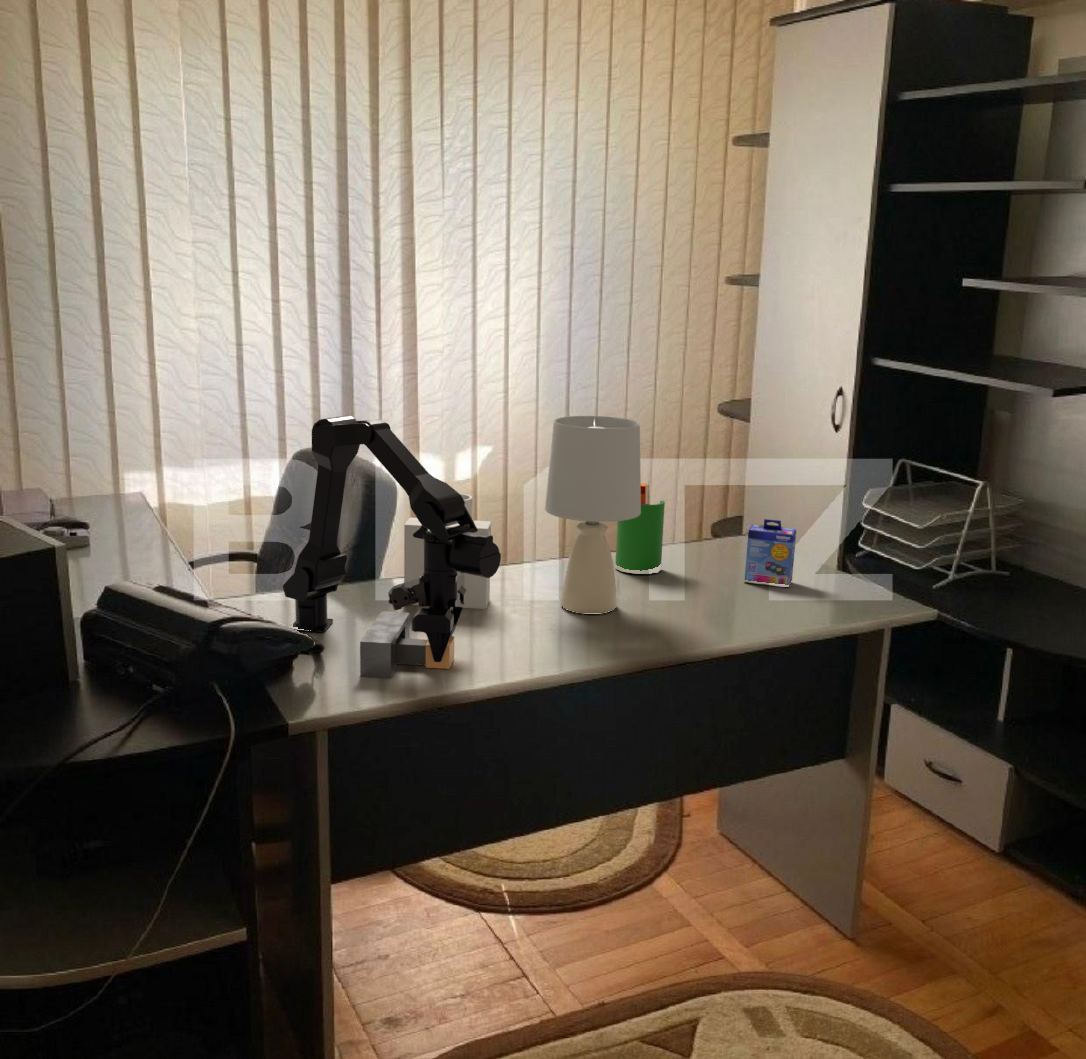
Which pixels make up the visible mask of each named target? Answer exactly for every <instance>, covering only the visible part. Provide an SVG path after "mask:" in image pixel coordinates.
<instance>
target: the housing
mask: <svg viewBox="0 0 1086 1059" xmlns="http://www.w3.org/2000/svg"><path fill="white" fill-rule="evenodd" d="M410 614H411V612H403V611H402V612H398V611H386V610H385V611H384V610H383V611H380V613H379V614H378V616H377V617H376V619H375V620H374V622H372V624H371V626H370V627H369V629H367V630H366V632H365V634H364V635H363V637H362V638H361V639H360V641H359V658H360V659H359V660H360V661H359V662H360V663H359V668H360V670H359V672H360V673H359V675H360V676H359V677H363V678H379V679H392V677H393V675H394V673H395V671H396V668H397V667H396V666H397V664H396V640H397V638H405V639H411V636H410V635H411V634H410V632H411V631H410V630H411V628H410V627H411V626H410V625H411V623H410V621H411V620H410V619H411V617H410V616H411V615H410Z"/></svg>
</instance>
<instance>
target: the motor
mask: <svg viewBox="0 0 1086 1059" xmlns="http://www.w3.org/2000/svg"><path fill="white" fill-rule="evenodd" d="M646 501H647V483H641V514H640V515H639V516H638V517H636V518H633V519H629V520H623V521H616V522H617V524H616V526H617V527H616V542H615V544H616V545H615V546H616V548H615V564H616V565H617V566H620V567H622V568H624V569H629V570H640V571H642V570H648V569H653V568H655V567H658V566H659V565H660V564H661V565H662V556H663V554H662V553H663V543H664V542H663V540H664V539H663V538H664V521H665V506H666V505H665V504H666V501H665V500H660V502H659V503H656V504H650V503H647V502H646Z"/></svg>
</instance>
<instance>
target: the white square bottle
mask: <svg viewBox="0 0 1086 1059" xmlns="http://www.w3.org/2000/svg"><path fill="white" fill-rule="evenodd" d="M458 493H459V494H460V495H461V496H462V498H463V499H464V502H465V507H466V509H467V511H468V513H469V514H470V516H471V518H472V519H473V497H472V496H471V495H470V494H467V493H460V492H458ZM473 521H474V524H475V526H476V527H477V529H478V531H477V532H476V534H482V535H484V534H488V535H492V521H491V520H489V521H487V520H473ZM458 525H459V524H458V523H456V524H453V525H450V526H446V527H445V528H446V529H448V528H451V527H455V526H458ZM421 526H422V525H421V523H420V522H419V520H418V519H417V517H409V518H408V519H407V520H406V522H405V524H404V531H403V532H404V533H403V534H404V537H403V538H404V539H403V540H404V544H403V545H404V546H403V548H404V549H403V550H404V552H403V556H404V558H403V561H404V562H403V565H404V566H403V570H404V571H403V574H404V576H403V579H404V580H403V583H405V582H408V581H411V580H415V579H419V578H420V576H421V575H422V574H423V567H424V540H423V539H419V538H414V537H413V533H415V532H416V531H417V530H418V529H419V528H420V527H421ZM458 585H462V586H463V587H464V588H465V589H466V590H467V596H466V602H465V604H461V602H460V600H459V601H458V603H457V605H456V607H463V609H479V610H480V609H481V610H486V609H488V608H487V607H488V606H489V603H490V599H491V597H490V593H491V592H490V590H491V588H490V587H491V577H490V578H485V577H480V576H476V575H471V574H467V573H462V572H460V576H459V578H458ZM411 606H419V602H418V603H415V604H412V605H411Z"/></svg>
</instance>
